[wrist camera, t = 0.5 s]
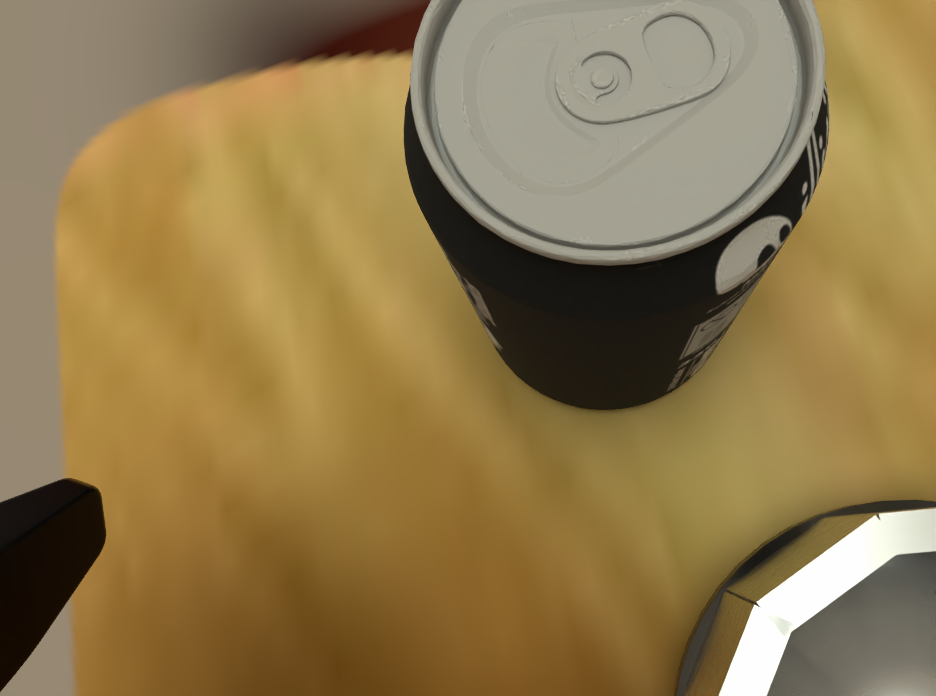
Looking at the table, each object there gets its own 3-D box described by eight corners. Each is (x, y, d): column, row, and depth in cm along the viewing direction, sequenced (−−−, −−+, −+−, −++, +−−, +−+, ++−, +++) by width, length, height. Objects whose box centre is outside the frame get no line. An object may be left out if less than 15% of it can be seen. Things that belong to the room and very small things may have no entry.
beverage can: (453, 229, 25) (326, -42, 13) (673, 149, 24) (746, -207, 12) (528, 447, 23) (460, 360, 11) (765, 365, 22) (947, 188, 11)
